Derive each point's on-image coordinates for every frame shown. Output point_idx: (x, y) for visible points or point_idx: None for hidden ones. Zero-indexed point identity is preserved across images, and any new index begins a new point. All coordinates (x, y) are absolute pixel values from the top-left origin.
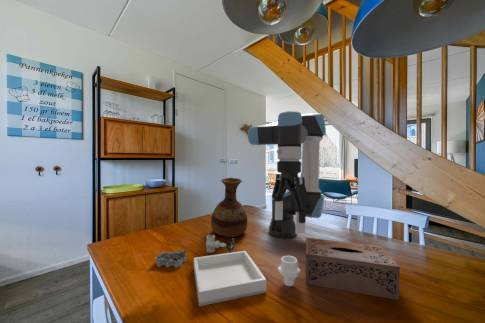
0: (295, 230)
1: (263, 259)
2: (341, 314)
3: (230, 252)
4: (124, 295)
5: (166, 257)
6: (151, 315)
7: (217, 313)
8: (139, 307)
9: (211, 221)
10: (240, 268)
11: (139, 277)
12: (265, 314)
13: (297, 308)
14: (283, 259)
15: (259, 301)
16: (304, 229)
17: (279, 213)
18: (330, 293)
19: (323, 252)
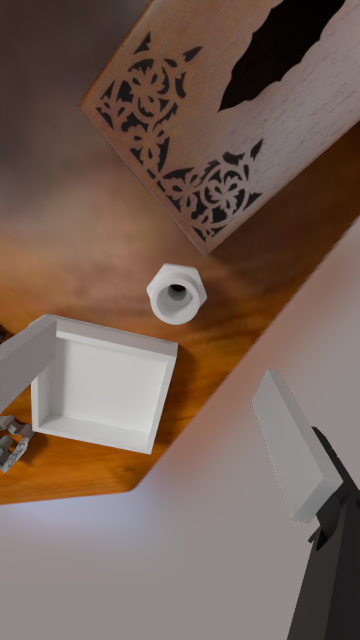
0: (254, 410)
1: (55, 266)
2: (307, 265)
3: (3, 336)
4: (87, 489)
5: (3, 453)
6: (141, 474)
7: (179, 421)
8: (120, 481)
9: None
10: (85, 348)
11: (48, 474)
12: (220, 373)
13: (243, 323)
14: (168, 318)
15: (191, 365)
16: (284, 385)
17: (31, 358)
18: (259, 224)
19: (234, 183)
